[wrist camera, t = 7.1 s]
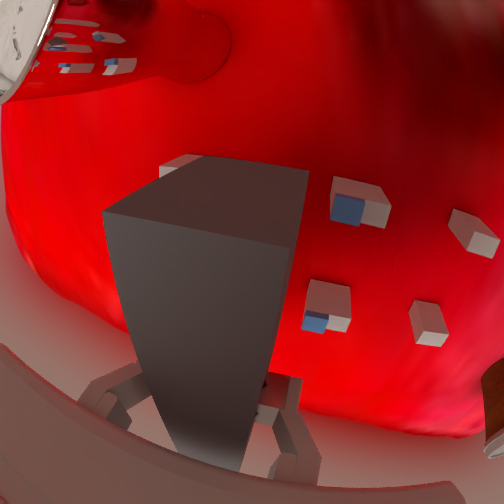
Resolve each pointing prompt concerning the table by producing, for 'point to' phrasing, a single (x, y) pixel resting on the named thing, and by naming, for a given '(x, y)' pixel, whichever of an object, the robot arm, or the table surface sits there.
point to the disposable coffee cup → (494, 409)
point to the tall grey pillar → (207, 292)
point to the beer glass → (104, 45)
